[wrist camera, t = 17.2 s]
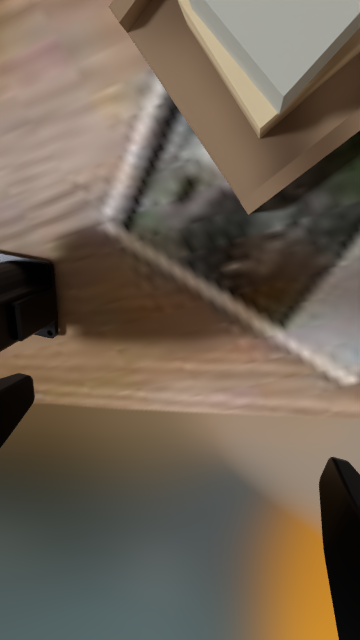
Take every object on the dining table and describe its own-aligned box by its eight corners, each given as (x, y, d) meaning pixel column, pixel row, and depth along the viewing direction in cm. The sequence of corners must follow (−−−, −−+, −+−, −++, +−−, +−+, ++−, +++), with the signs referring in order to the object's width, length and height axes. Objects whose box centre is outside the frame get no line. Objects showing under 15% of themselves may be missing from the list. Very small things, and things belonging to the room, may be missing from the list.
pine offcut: (259, 138, 15) (260, 128, 13) (187, 25, 14) (174, -8, 12) (377, 37, 13) (401, 3, 11) (300, -109, 12) (309, -181, 10)
